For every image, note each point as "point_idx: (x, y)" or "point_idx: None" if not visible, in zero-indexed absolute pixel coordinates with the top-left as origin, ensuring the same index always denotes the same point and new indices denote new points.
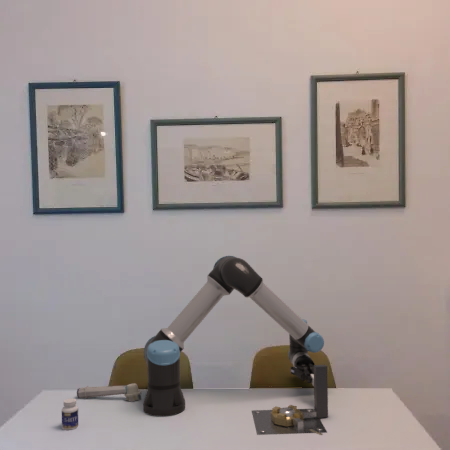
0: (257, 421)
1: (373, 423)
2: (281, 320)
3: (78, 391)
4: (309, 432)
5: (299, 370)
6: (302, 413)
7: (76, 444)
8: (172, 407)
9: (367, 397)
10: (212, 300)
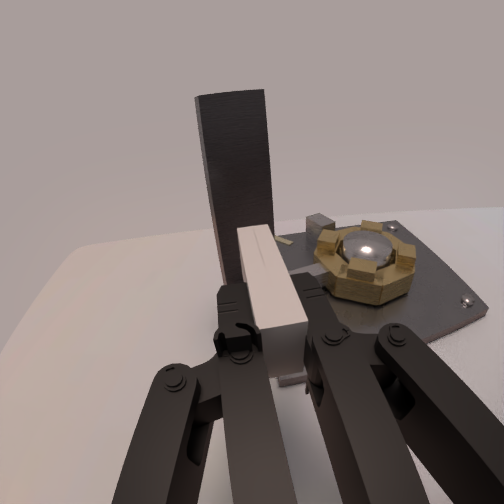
0: (432, 258)
1: (102, 307)
2: None
3: None
4: (290, 235)
5: (477, 434)
6: (318, 256)
7: None
8: None
9: (7, 496)
10: None
